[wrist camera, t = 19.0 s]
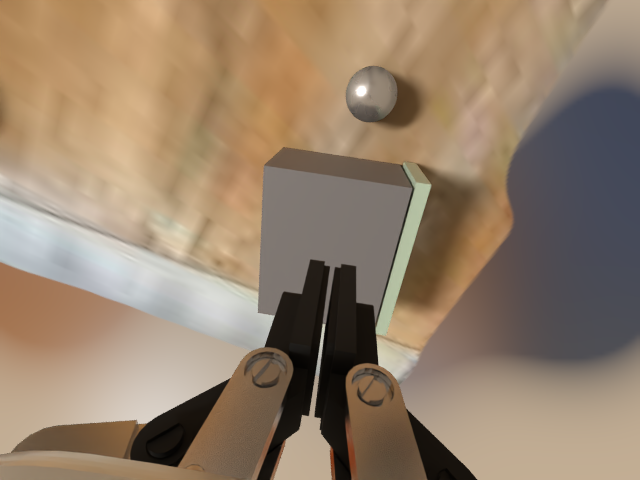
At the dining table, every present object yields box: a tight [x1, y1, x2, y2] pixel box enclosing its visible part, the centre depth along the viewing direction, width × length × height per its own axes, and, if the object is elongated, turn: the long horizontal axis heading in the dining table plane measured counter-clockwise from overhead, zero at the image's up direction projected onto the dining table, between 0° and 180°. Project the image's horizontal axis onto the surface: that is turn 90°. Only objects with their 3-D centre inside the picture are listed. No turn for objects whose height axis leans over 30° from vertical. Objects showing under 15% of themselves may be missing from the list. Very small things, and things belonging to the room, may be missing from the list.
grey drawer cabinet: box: [258, 147, 412, 324], centre depth 37 cm, size 14×18×9 cm
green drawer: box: [375, 162, 431, 336], centre depth 37 cm, size 14×19×8 cm
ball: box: [346, 66, 397, 122], centre depth 32 cm, size 5×5×4 cm
